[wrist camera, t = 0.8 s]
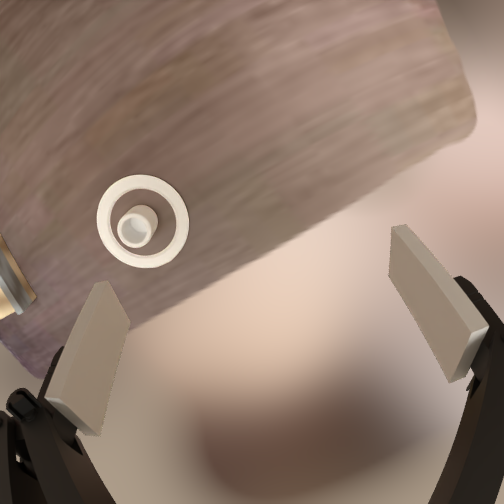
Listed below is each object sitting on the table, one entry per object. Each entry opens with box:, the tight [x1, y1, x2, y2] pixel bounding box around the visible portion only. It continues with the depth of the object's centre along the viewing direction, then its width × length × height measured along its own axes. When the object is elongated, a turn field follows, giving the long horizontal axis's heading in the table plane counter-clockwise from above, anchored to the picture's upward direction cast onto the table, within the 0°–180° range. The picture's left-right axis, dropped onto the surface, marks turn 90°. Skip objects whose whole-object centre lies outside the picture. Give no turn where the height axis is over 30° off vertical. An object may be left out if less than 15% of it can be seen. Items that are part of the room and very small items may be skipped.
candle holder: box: [97, 175, 189, 268], centre depth 36 cm, size 12×12×4 cm
